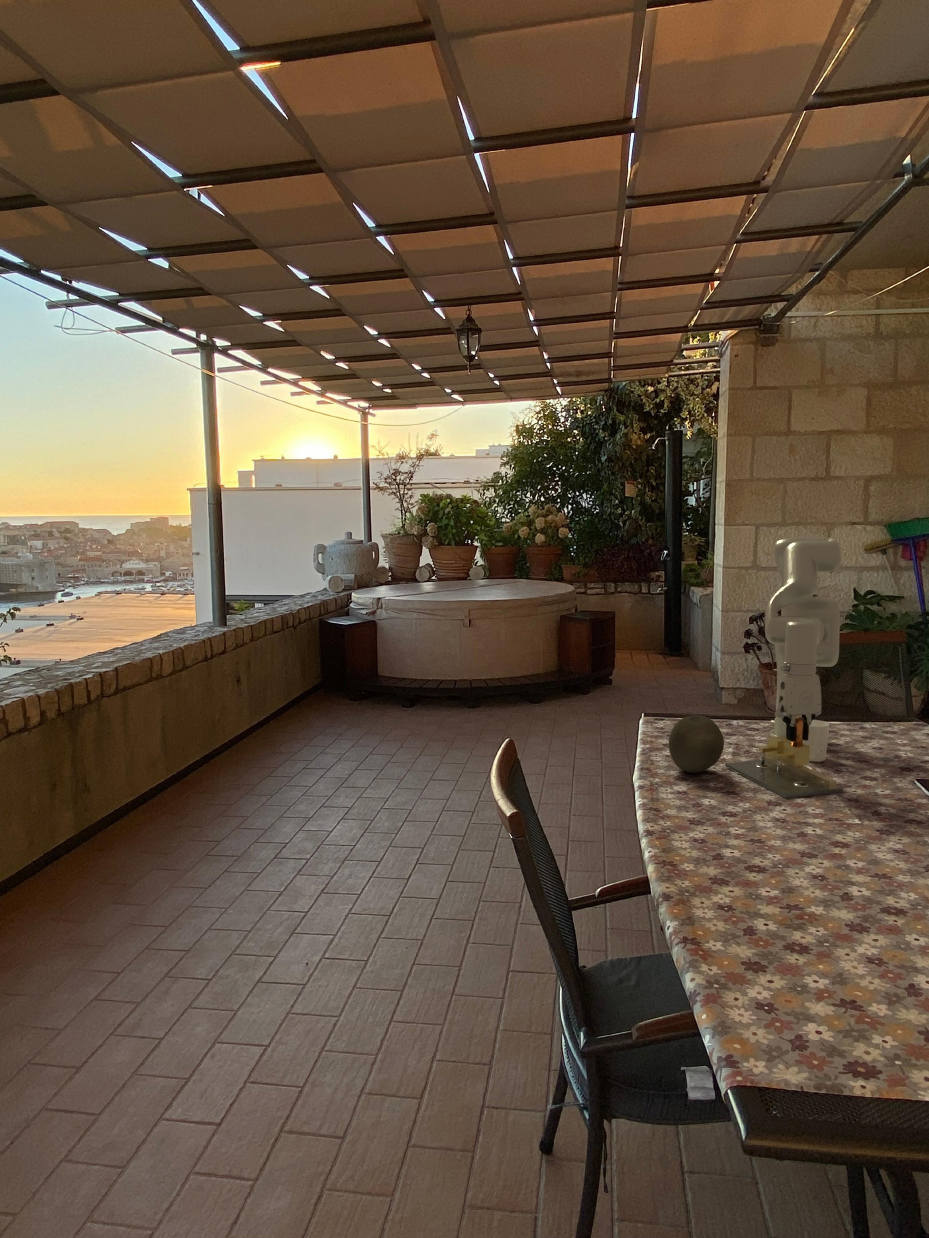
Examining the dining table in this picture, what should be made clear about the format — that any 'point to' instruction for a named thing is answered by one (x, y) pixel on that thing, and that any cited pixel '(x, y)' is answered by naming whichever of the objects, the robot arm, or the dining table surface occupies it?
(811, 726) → the white cup
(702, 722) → the dimpled olive sphere
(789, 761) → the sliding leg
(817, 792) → the grey sliding latch board
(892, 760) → the dining table surface
